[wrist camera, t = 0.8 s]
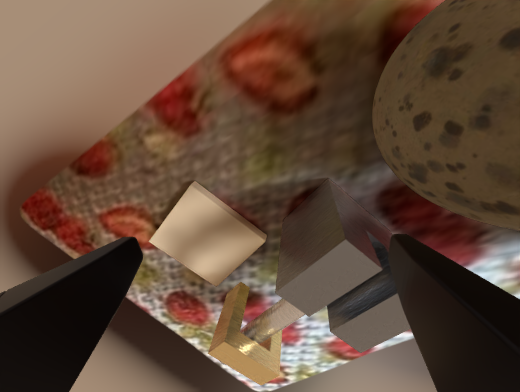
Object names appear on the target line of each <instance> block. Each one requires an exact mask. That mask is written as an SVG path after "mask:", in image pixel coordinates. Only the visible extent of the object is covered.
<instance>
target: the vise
mask: <svg viewBox="0 0 520 392" xmlns="http://www.w3.org/2000/svg"><path fill="white" fill-rule="evenodd" d="M391 236H392V234H391V232H390V231H389V230H388V229H387V228H386V227H385V226H384V225H382V224H381V223H380V222H379V221H378V220H377V219H375V218H374V217H373V216H372V215H371V214H370V213H369V212H367V211H366V210H365V209H364V208H363V207H362V206H360V205H359V204H358V203H357V202H356V201H355V200H353V199H352V198H351V197H350V196H349V195H348V194H346V193H345V192H344V191H343V190H342V189H341V188H339V187H338V186H337V185H336V184H335V183H334V182H333V181H331V180H330V179H329V178H328V179H326V180H325V181H324V182H323V183H322V184H321V185H320V186H319V187H318V188H317V189H316V190H315V191H314V192H313V193H312V194H310V195H309V196H308V197H307V198H306V199H305V200H304V201H303V202H302V203H301V204H300V205H299V206H298V207H297V208H295V209H294V210H293V211H292V212H291V213H290V214H289V215H288V216H287V217H286V218H285V219H284V220H283V225H282V235H281V244H280V253H279V263H278V272H277V281H276V291H275V293H276V294H277V295H279V296H280V297H282V299H281V300H280V301H278V302H277V303H276V304H274V305H273V306H271V307H270V308H269V309H267V310H266V311H265V312H263V313H262V314H260V315H259V316H258V317H256V318H255V319H254V320H252V321H251V322H250V323H248V324H247V325H245V326H244V327H243V328H241V329H240V332H241V333H242V334H244V335H245V336H247V337H248V338H250V339H251V340H253V341H255V342H256V343H258V344H260V343H262V342H264V341H265V340H267V339H268V338H270V337H271V336H273V335H274V334H276V333H277V332H279V331H280V330H282V329H284V328H285V327H287V326H288V325H290V324H291V323H293V322H294V321H296V320H297V319H299V318H301V317H302V316H304V315H305V314H306V315H307V316H311V315H312V314H314V313H316V312H317V311H319V310H320V309H322V308H323V307H325V306H327V309H328V317H329V325H330V332H331V333H333V334H334V335H336V336H337V337H338V338H340V339H341V340H343V341H344V342H346V343H347V344H348V345H350V346H351V347H353V348H354V349H356V350H357V351H358V352H360V353H362V352H364V351H366V350H368V349H370V348H372V347H374V346H376V345H378V344H380V343H382V342H384V341H386V340H388V339H391V338H393V337H395V336H397V335H399V334H401V333H403V332H405V331H407V330H409V329H411V328H410V326H409V323H408V321H407V319H406V316H405V314H404V311H403V308H402V306H401V302H400V299H399V296H398V292H397V289H396V285H395V282H394V279H393V275H392V272H391V268H390V265H389V260H388V253H389V246H390V239H391ZM219 361H220V360H219ZM220 362H221V361H220ZM221 363H222V364H225V363H223V362H221ZM225 365H226V364H225Z"/></svg>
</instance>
